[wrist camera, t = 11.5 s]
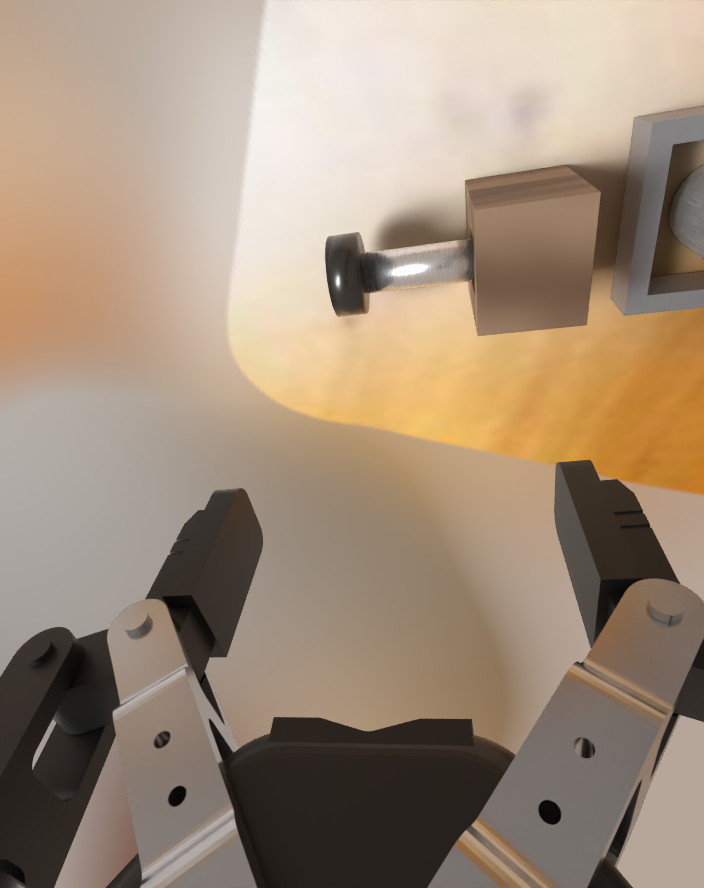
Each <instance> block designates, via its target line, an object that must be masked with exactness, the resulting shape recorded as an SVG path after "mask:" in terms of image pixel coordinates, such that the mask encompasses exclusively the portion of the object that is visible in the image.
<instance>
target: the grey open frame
mask: <svg viewBox="0 0 704 888" xmlns="http://www.w3.org/2000/svg"><path fill="white" fill-rule="evenodd" d="M699 140H704V106H700V107H694V108H688V109H682V110H676V111H670V112H664V113H658V114H652V115H646V116H640V117H634V124H633V131H632V139H631V147H630V154H629V162H628V170H627V177H626V185H625V193H624V200H623V208H622V216H621V223H620V231H619V239H618V246H617V254H616V262H615V269H614V277H613V285H612V292H611V299H612V301H613V302H614V303H615V305H616V306H617V307H618V308H619V310H620V311H621V312H622V314H623V315H624V316H625V315H634V314H644V313H654V312H663V311H673V310H683V309H693V308H702V307H704V271H700V272H691V273H682V274H674V275H665V276H656V277H650V276H651V270H652V264H653V258H654V253H655V247H656V241H657V235H658V229H659V223H660V218H661V212H662V206H663V200H664V194H665V189H666V183H667V177H668V171H669V165H670V159H671V154H672V148H673V144H680V143H686V142H693V141H699Z"/></svg>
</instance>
